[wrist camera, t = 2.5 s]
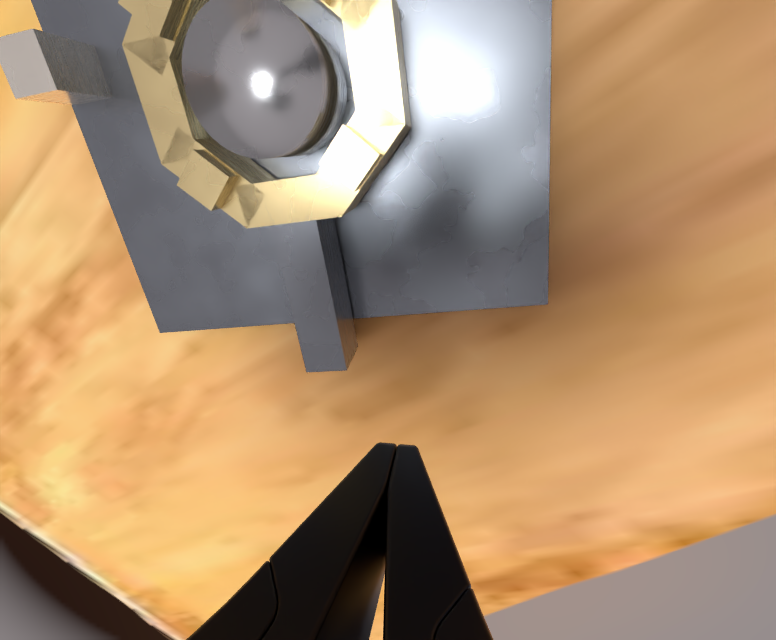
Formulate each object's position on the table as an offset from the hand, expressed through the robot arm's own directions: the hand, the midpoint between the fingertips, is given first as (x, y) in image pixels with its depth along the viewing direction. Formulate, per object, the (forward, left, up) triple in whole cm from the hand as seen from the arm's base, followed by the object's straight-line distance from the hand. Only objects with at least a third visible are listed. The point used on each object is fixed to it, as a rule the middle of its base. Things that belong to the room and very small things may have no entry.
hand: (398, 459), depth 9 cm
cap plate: (+5, -9, -13) cm, 17 cm away
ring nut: (+5, -5, -12) cm, 14 cm away
